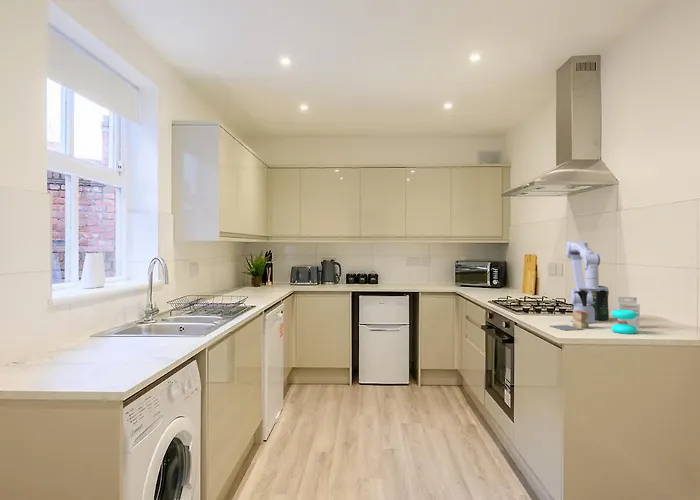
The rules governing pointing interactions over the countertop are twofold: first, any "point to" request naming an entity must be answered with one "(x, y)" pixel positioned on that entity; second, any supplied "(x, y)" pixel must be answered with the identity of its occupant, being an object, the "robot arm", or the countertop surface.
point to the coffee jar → (600, 311)
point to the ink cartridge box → (630, 306)
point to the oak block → (581, 319)
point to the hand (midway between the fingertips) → (592, 306)
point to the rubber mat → (566, 327)
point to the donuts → (624, 327)
